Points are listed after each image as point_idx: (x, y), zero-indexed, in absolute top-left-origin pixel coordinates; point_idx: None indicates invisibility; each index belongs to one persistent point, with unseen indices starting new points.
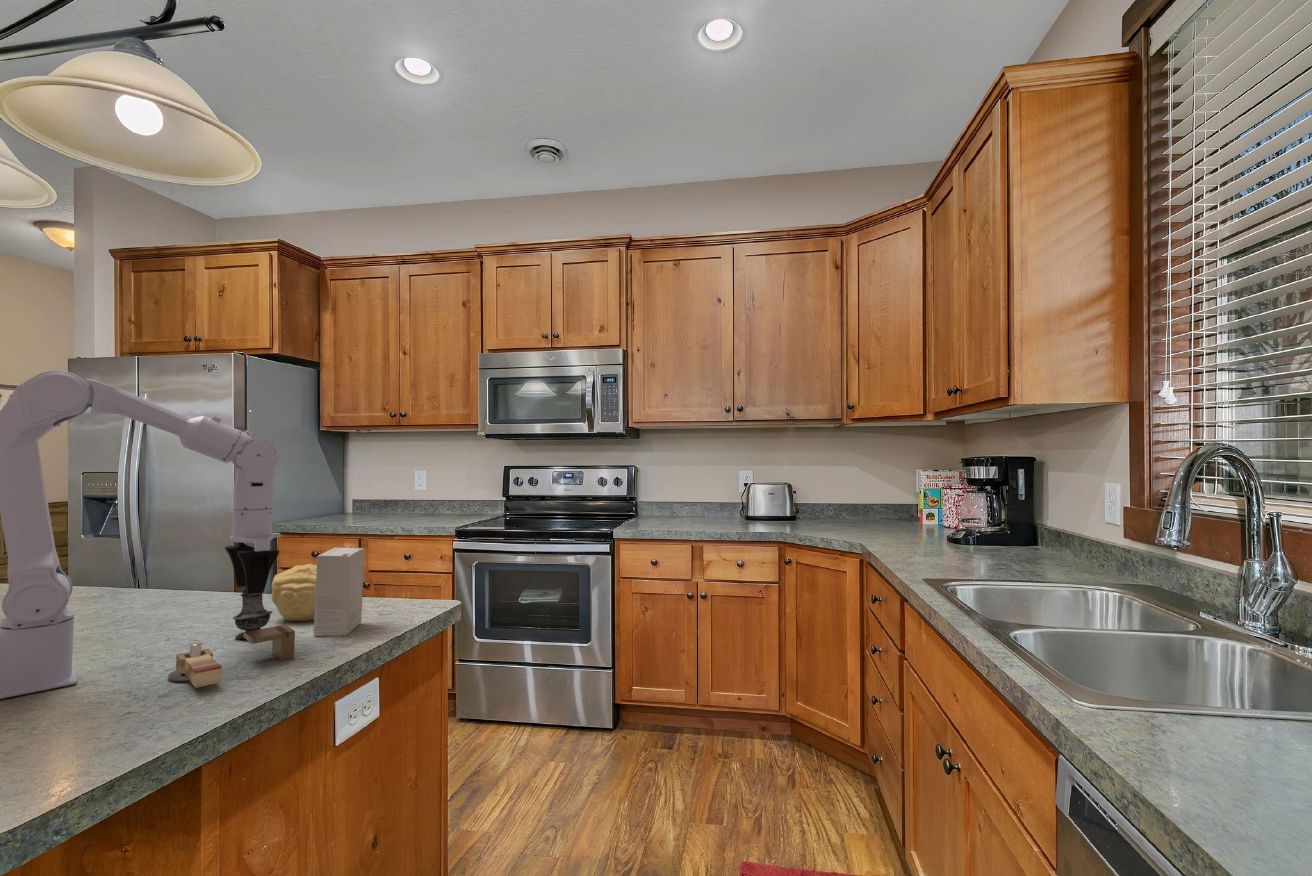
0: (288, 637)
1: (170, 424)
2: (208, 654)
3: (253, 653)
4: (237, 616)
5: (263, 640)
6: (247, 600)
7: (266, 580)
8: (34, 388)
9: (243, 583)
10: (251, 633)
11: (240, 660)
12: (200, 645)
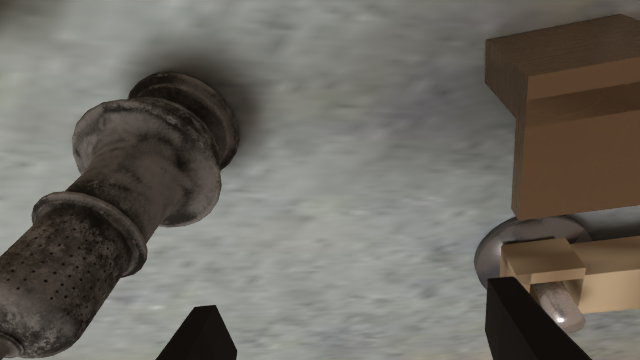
0: None
1: None
2: (590, 276)
3: (424, 133)
4: (172, 219)
5: None
6: (149, 237)
7: (565, 336)
8: None
9: (223, 350)
10: (571, 201)
11: (479, 167)
12: (579, 312)
